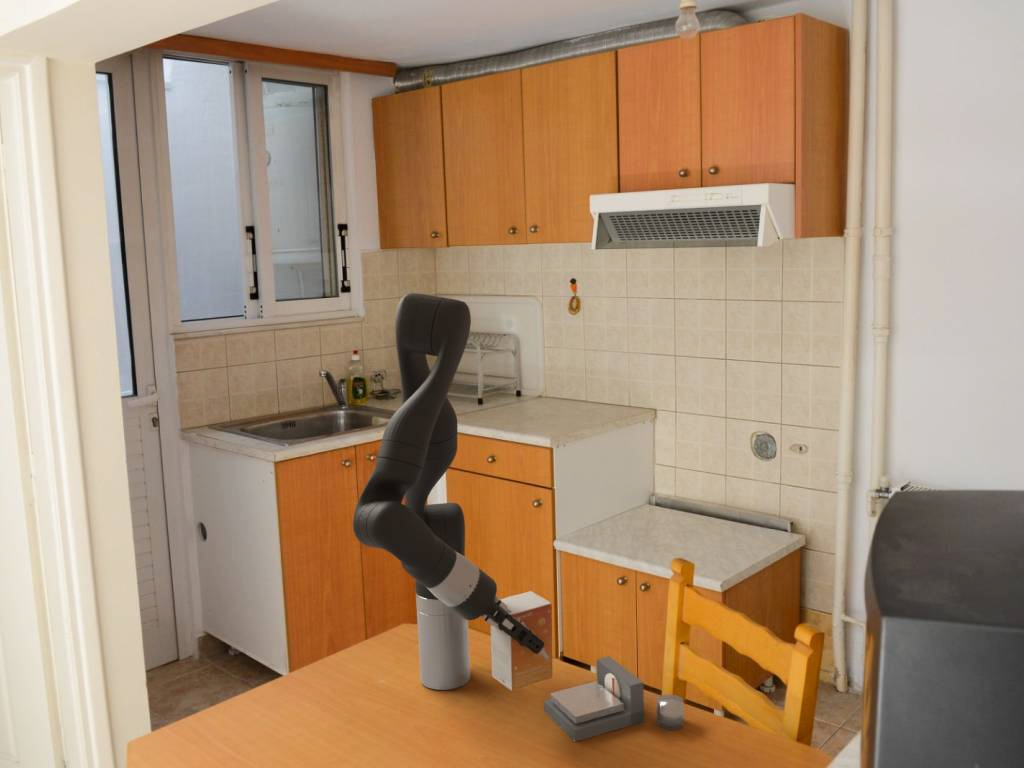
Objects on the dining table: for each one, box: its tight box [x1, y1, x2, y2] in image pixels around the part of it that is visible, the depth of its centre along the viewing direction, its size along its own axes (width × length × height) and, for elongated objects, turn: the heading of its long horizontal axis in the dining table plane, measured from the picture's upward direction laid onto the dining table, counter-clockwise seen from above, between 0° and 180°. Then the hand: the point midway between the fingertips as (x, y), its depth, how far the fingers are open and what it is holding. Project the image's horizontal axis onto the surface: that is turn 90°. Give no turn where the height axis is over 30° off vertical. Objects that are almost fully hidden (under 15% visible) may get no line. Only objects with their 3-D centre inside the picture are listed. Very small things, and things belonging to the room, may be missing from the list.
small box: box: [490, 590, 553, 692], centre depth 152 cm, size 8×6×13 cm
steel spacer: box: [656, 694, 685, 731], centre depth 155 cm, size 4×4×4 cm
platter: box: [549, 680, 624, 724], centre depth 157 cm, size 9×9×1 cm
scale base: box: [543, 656, 645, 742], centre depth 158 cm, size 11×13×7 cm
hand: (530, 639), depth 152 cm, fingers closed on small box, 7 cm apart
